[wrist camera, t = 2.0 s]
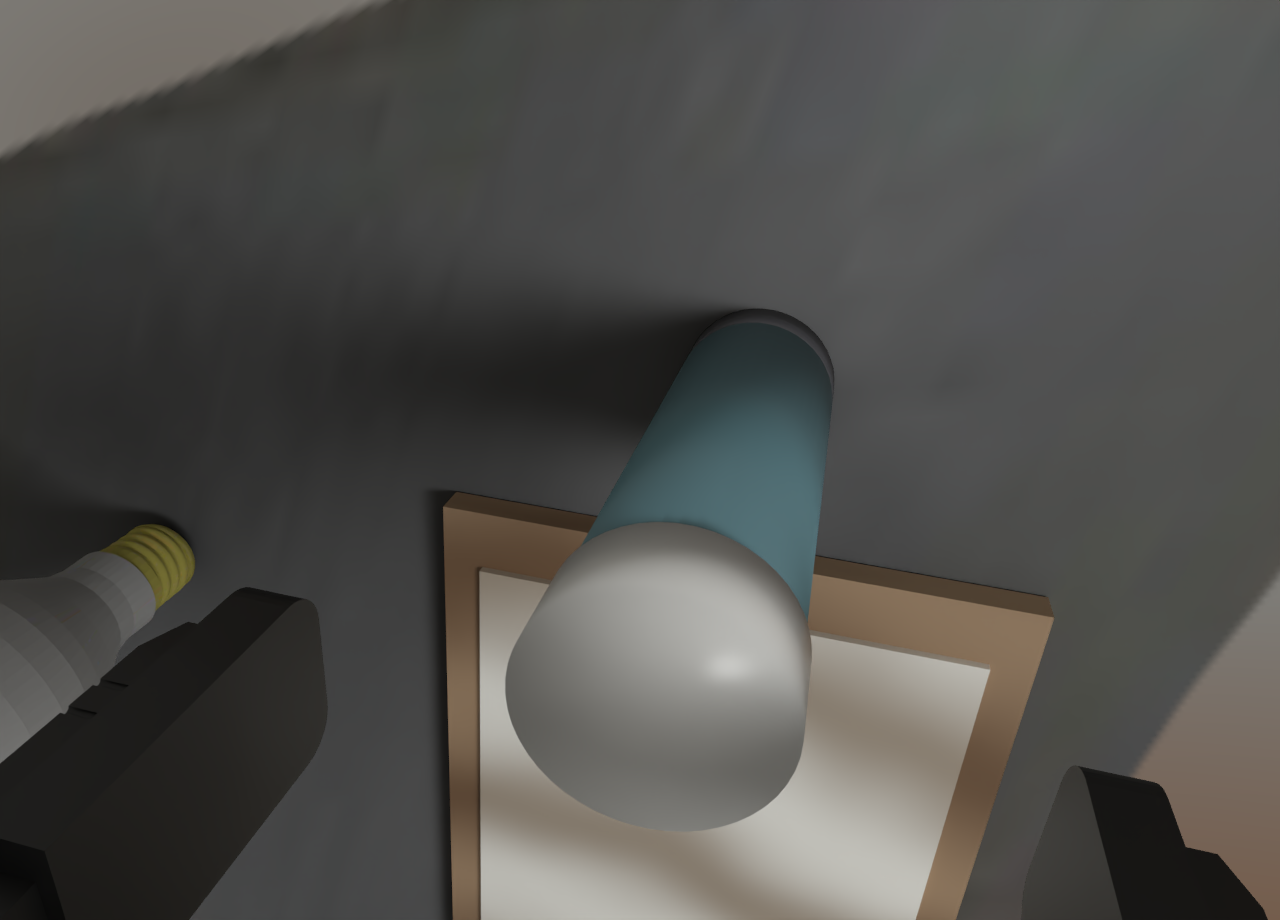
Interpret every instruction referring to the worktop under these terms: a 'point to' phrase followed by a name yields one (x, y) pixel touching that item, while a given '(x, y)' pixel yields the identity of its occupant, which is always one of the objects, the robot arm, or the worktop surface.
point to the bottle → (690, 596)
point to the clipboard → (818, 790)
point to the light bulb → (79, 624)
